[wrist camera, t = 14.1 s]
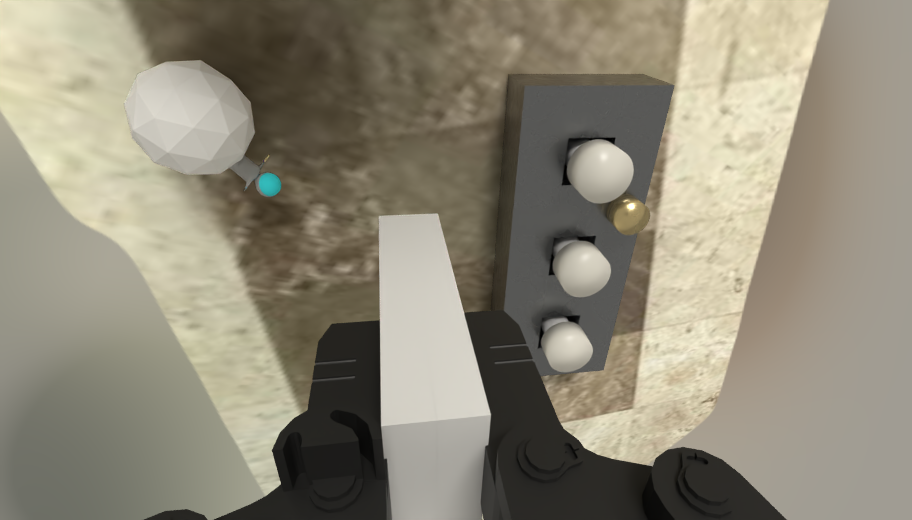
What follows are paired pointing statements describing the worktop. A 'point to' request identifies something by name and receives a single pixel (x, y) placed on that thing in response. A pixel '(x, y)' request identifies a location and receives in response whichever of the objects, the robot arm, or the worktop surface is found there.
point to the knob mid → (579, 266)
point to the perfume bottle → (195, 122)
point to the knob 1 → (565, 344)
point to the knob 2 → (598, 169)
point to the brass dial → (628, 214)
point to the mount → (568, 196)
